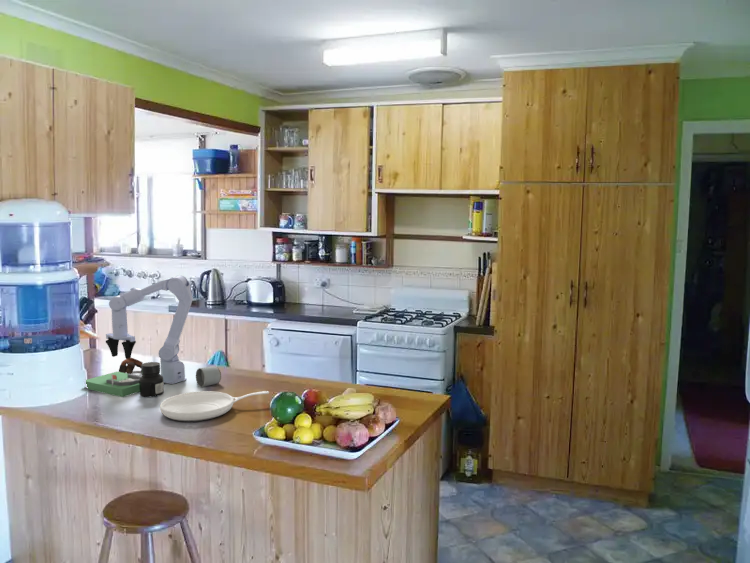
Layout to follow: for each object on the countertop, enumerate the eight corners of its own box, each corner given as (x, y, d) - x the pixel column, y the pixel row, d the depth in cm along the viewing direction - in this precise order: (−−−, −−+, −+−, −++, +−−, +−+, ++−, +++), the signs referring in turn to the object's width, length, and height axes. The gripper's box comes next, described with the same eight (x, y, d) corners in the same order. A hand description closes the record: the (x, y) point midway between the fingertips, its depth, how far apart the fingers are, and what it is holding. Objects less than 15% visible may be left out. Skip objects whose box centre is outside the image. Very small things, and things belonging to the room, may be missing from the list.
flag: (118, 395, 237) (116, 374, 236) (116, 395, 237) (115, 375, 236) (113, 394, 238) (112, 373, 237) (112, 394, 238) (111, 374, 237)
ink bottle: (163, 397, 234) (162, 366, 233) (138, 399, 232) (137, 368, 231) (164, 389, 244) (163, 360, 242) (140, 391, 241) (139, 361, 240)
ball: (120, 382, 241) (122, 378, 245) (123, 392, 242) (125, 388, 246) (131, 379, 242) (133, 375, 246) (135, 389, 243) (137, 385, 247)
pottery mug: (115, 373, 270) (123, 356, 273) (137, 381, 273) (144, 363, 276) (117, 373, 259) (125, 354, 262) (139, 380, 262) (147, 362, 265)
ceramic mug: (222, 384, 251) (222, 366, 250) (204, 388, 245) (203, 370, 244) (209, 380, 258) (208, 362, 257) (191, 384, 252) (190, 365, 252)
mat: (156, 386, 248) (155, 376, 248) (122, 397, 235) (121, 386, 234) (117, 378, 260) (116, 368, 260) (83, 387, 247) (82, 377, 246)
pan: (159, 406, 225) (158, 393, 224) (263, 394, 238) (262, 382, 237) (161, 428, 201) (160, 414, 201) (276, 414, 215) (275, 401, 214)
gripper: (140, 324, 253) (141, 356, 255) (115, 321, 259) (116, 353, 261) (126, 327, 247) (128, 360, 248) (101, 324, 253) (102, 356, 255)
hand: (121, 357), depth 254 cm, fingers open, 7 cm apart
